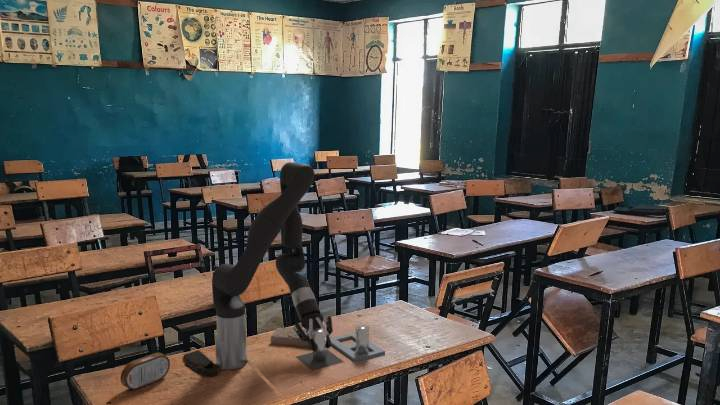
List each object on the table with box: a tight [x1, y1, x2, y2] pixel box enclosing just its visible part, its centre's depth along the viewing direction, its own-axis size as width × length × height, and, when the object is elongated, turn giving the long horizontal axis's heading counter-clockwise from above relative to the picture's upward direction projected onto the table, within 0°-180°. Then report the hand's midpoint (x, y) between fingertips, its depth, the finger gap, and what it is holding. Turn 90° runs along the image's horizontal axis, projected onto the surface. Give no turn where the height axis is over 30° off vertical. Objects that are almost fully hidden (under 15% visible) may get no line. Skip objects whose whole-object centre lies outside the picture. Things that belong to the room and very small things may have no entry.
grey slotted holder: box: [330, 332, 386, 363], centre depth 187 cm, size 12×19×2 cm, turn 32°
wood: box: [183, 350, 220, 378], centre depth 175 cm, size 22×7×3 cm, turn 38°
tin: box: [120, 352, 171, 390], centre depth 162 cm, size 15×3×8 cm, turn 142°
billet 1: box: [312, 328, 327, 362], centre depth 177 cm, size 5×5×10 cm
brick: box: [270, 327, 310, 348], centre depth 193 cm, size 16×8×5 cm, turn 79°
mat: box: [295, 348, 345, 372], centre depth 178 cm, size 12×12×1 cm
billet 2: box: [355, 324, 370, 355], centre depth 183 cm, size 5×5×10 cm
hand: (322, 348), depth 176 cm, fingers closed on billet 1, 4 cm apart
